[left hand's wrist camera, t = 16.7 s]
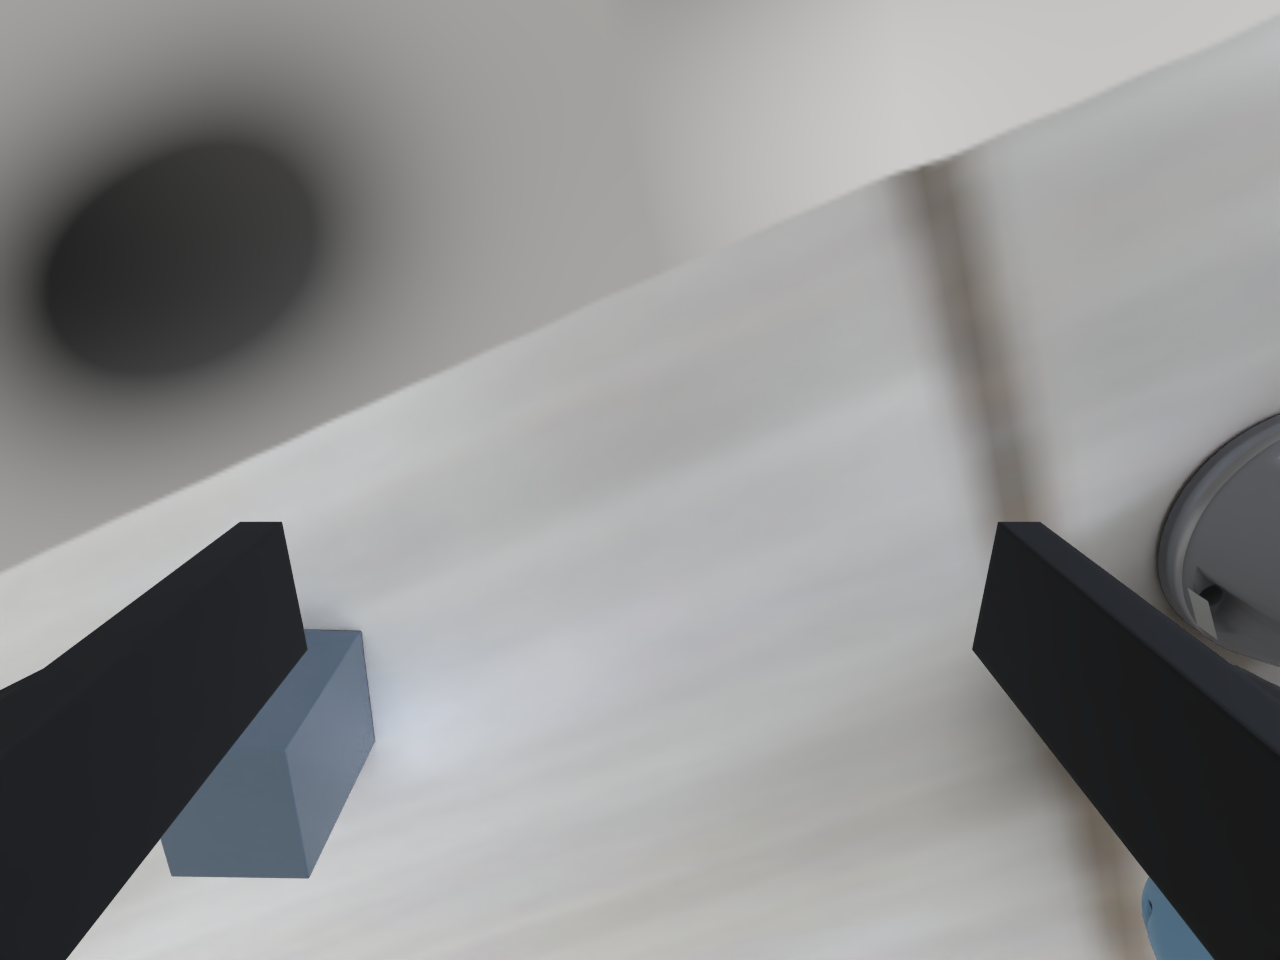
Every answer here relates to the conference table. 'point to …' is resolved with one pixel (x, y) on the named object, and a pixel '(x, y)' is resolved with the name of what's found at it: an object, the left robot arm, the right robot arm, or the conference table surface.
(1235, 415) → the conference table surface
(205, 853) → the block
